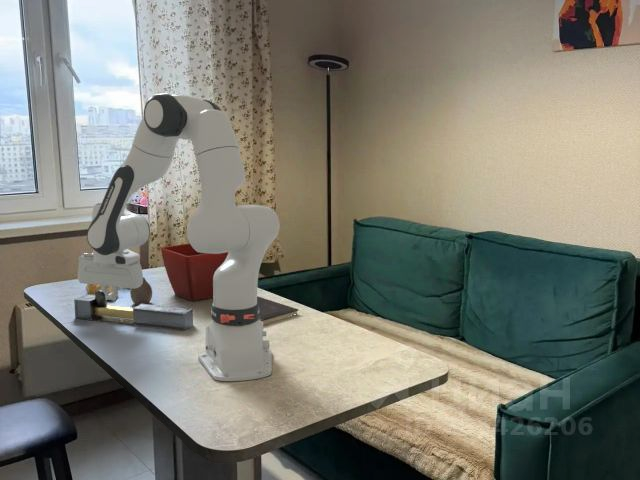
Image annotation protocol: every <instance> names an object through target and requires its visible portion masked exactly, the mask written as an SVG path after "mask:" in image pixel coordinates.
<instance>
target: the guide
mask: <svg viewBox="0 0 640 480" xmlns="http://www.w3.org/2000/svg"><path fill="white" fill-rule="evenodd" d="M73 300H74V301H73V302H74V318H75V319H76V320H77V319H78V320H84V321H85V320H87V321H93V320H94V321H95V322H101V323H102V322H104V323H111V324H112V323H113V324H121V325H131V326H137V327H138V326H139V327H145V328H146V327H148V328H154V329H155V328H156V329H164V330H171V331H172V330H173V331H180V332H184V331H187V330H188V329H190V328H191V327H193V325H194V309H193V308H188V307H187V308H185V307H178V306H168V305H167V306H166V305H160V304H159V305H158V304H149V303H148V304H140V305H136V306H135V307H132V308H133V319H125V318H116V317H107V316H98V315H93V304H95V295H90V294H88V293H87V294H83V295H81V296H79V297H77V298H74V299H73ZM94 321H93V322H94Z"/></svg>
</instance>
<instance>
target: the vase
mask: <svg viewBox="0 0 640 480" xmlns="http://www.w3.org/2000/svg"><path fill="white" fill-rule="evenodd" d="M130 298H131V301H132V303H133V304H134V305H136V306H138V305H140V304H149V303H150V302H151V300H152V299H153V289H152V286H151V285H150V283H149V282H148V281H147V279H146V277H144V276H143V283H142V285H141V286H140V287H138V288H136V289H132V288H130Z"/></svg>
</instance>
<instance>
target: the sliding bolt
mask: <svg viewBox="0 0 640 480" xmlns="http://www.w3.org/2000/svg"><path fill="white" fill-rule="evenodd" d="M107 301H108V300H106V299H105V294H104V292H103V291H102V290H96V291H95V304H93V315H98V316H107V317H116V318H125V319H133V308H134V307H128V306H127V307H126V306H116V305H108V304H107V303H108V302H107Z"/></svg>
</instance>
